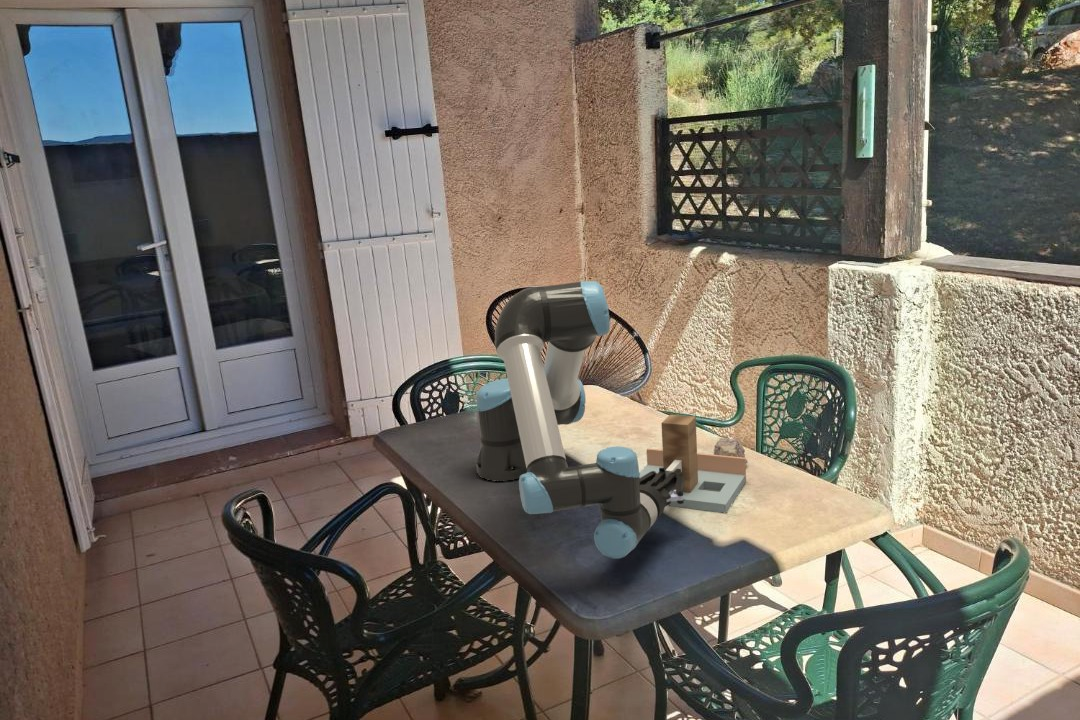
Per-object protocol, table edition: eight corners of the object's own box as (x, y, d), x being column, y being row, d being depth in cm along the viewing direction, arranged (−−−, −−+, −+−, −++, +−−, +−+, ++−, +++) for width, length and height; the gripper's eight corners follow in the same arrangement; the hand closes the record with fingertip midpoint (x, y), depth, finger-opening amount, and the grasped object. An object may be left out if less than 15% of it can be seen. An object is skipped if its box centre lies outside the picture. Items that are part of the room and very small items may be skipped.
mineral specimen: (754, 474, 195) (754, 449, 193) (725, 477, 194) (725, 452, 193) (737, 455, 207) (736, 432, 206) (709, 458, 207) (708, 435, 205)
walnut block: (664, 490, 185) (661, 422, 181) (673, 480, 190) (670, 414, 186) (690, 493, 182) (687, 425, 178) (698, 482, 187) (695, 416, 183)
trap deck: (622, 499, 186) (620, 475, 185) (648, 471, 202) (647, 448, 200) (726, 513, 175) (725, 487, 174) (746, 481, 190) (745, 457, 189)
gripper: (611, 521, 165) (651, 478, 185) (673, 530, 159) (707, 484, 179) (609, 487, 163) (649, 447, 184) (671, 495, 157) (706, 452, 177)
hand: (678, 465), depth 181 cm, fingers closed
